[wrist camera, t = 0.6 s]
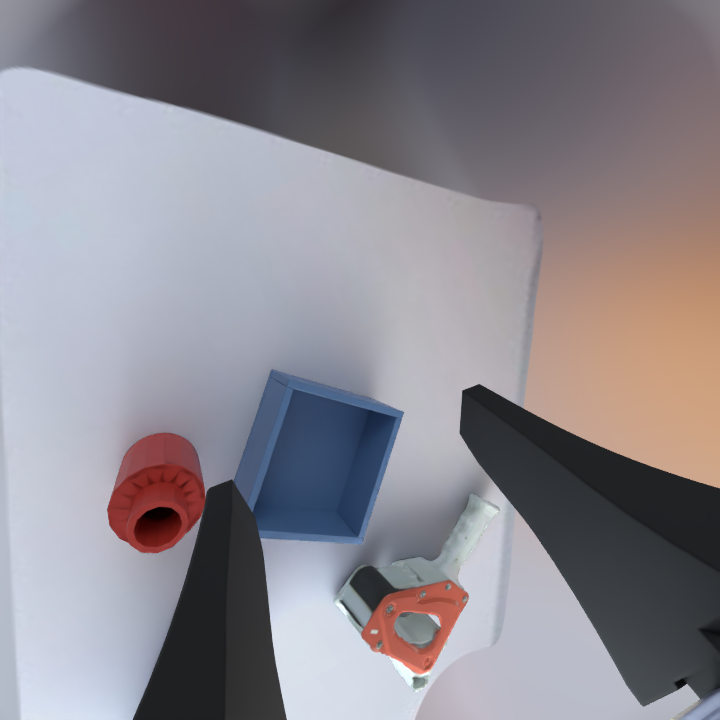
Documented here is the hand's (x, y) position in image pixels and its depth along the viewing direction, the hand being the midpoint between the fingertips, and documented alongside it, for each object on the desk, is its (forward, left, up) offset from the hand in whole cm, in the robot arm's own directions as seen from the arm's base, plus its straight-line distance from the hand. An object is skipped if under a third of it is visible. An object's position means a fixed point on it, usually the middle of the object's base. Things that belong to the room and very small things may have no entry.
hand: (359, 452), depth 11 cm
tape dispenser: (-17, -25, -21) cm, 37 cm away
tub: (-5, -8, -21) cm, 23 cm away
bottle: (-9, +3, -21) cm, 23 cm away
